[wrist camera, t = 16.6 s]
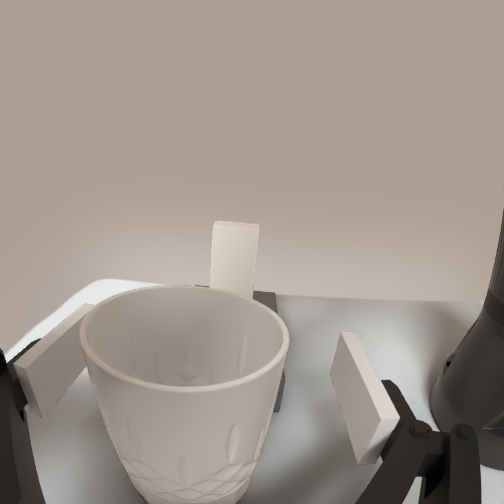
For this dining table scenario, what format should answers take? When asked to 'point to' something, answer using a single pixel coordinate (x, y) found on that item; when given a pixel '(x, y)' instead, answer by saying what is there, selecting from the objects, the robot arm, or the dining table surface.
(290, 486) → the dining table surface
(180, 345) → the white cup
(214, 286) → the handle
